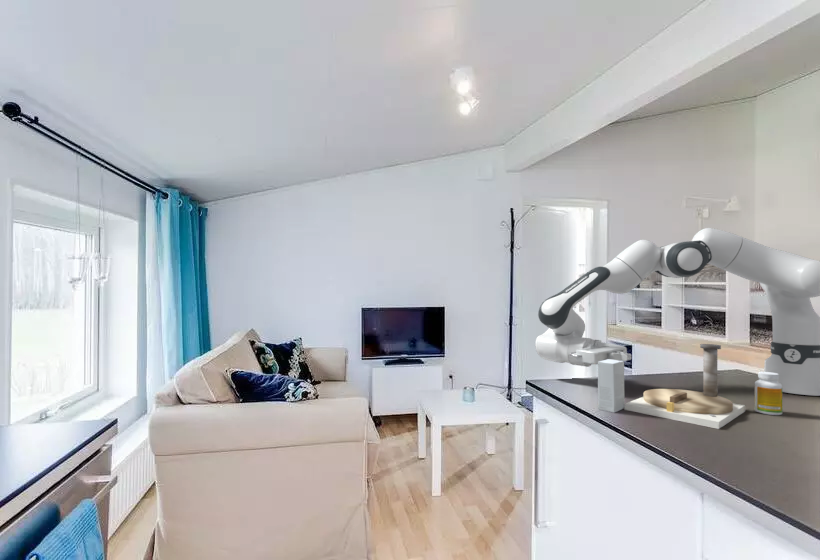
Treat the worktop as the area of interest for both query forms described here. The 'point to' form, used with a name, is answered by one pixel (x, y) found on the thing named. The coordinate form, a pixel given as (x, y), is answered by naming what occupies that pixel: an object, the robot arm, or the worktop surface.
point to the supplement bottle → (768, 394)
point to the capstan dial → (692, 399)
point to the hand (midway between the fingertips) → (629, 357)
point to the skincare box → (611, 385)
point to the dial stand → (685, 413)
